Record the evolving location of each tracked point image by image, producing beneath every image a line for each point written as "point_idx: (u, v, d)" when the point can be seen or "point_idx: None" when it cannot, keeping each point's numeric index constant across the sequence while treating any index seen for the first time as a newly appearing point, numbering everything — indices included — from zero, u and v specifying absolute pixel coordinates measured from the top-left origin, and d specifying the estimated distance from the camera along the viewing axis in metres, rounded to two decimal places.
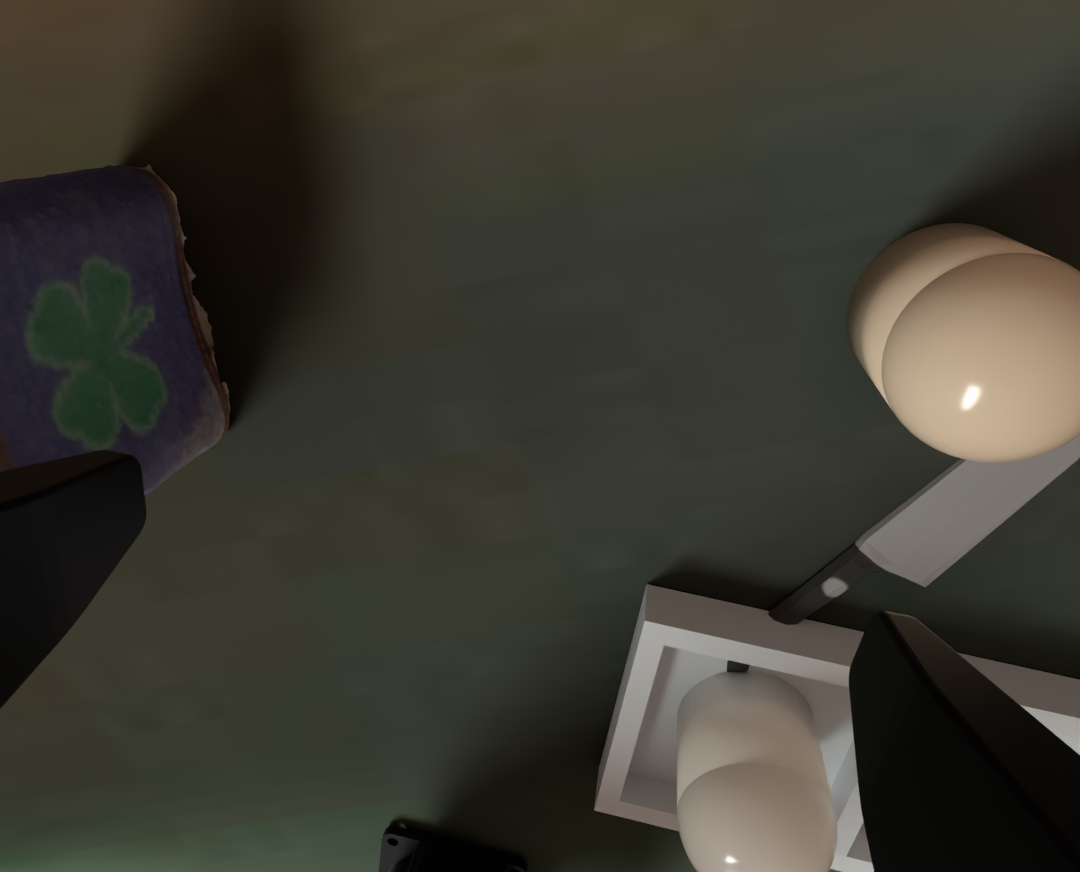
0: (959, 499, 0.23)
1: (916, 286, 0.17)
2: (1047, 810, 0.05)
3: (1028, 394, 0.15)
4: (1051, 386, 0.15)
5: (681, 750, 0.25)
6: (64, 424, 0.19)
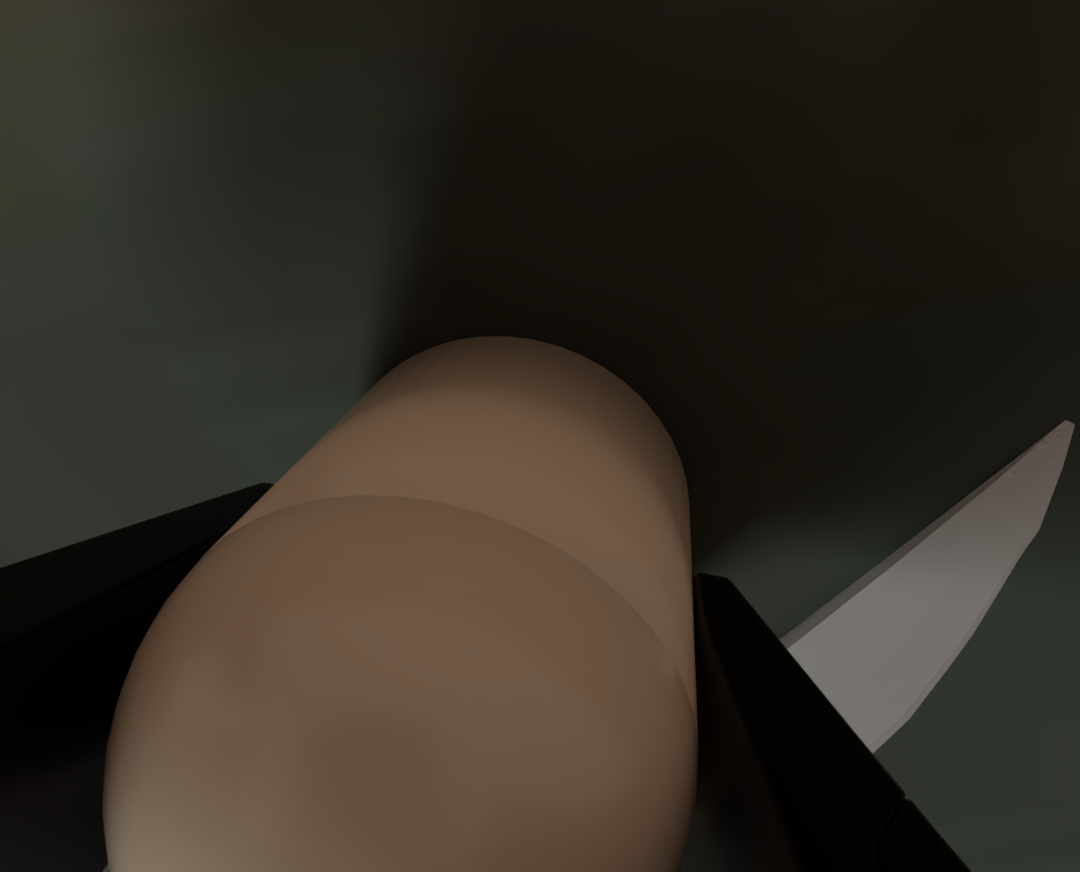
0: None
1: None
2: (764, 746, 0.06)
3: None
4: None
5: None
6: None
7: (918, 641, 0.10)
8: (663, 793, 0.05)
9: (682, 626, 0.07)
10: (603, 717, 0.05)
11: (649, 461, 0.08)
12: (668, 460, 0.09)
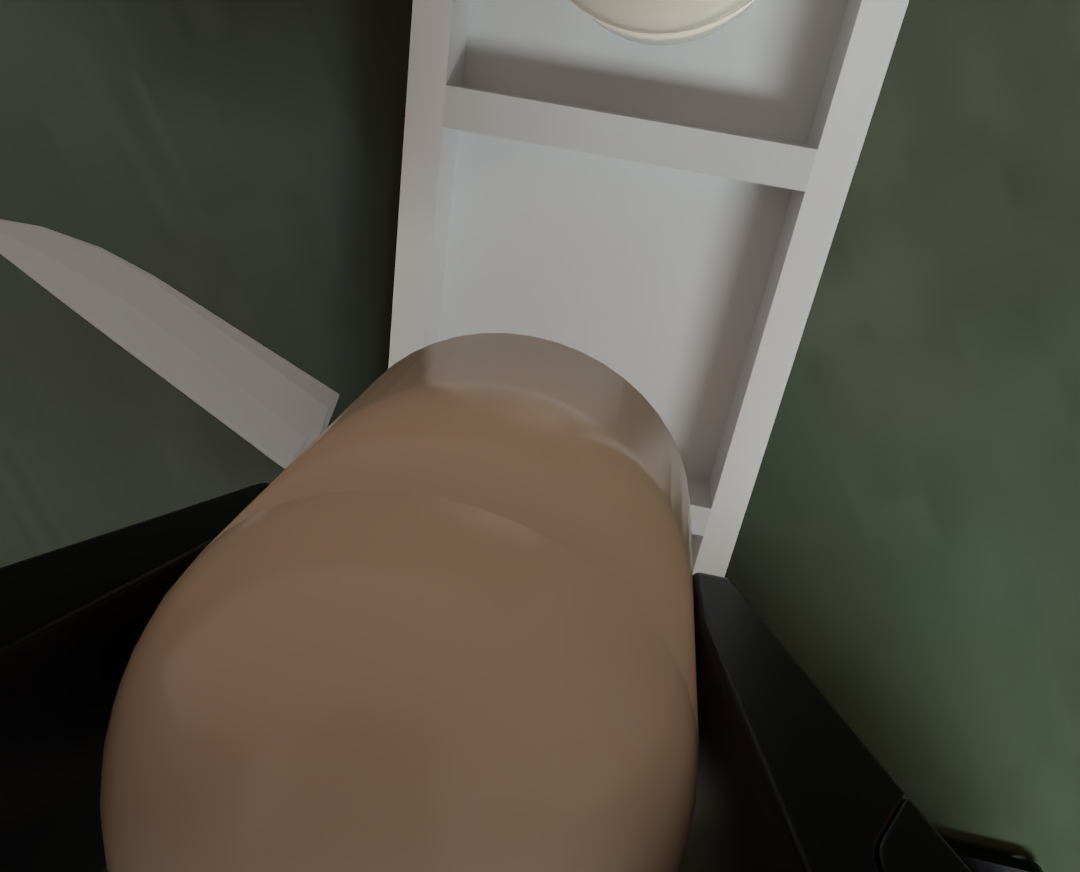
0: (217, 386, 0.21)
1: None
2: (763, 746, 0.06)
3: None
4: None
5: None
6: None
7: (51, 250, 0.20)
8: (663, 789, 0.05)
9: (682, 622, 0.06)
10: (603, 713, 0.05)
11: (648, 457, 0.08)
12: (668, 457, 0.09)
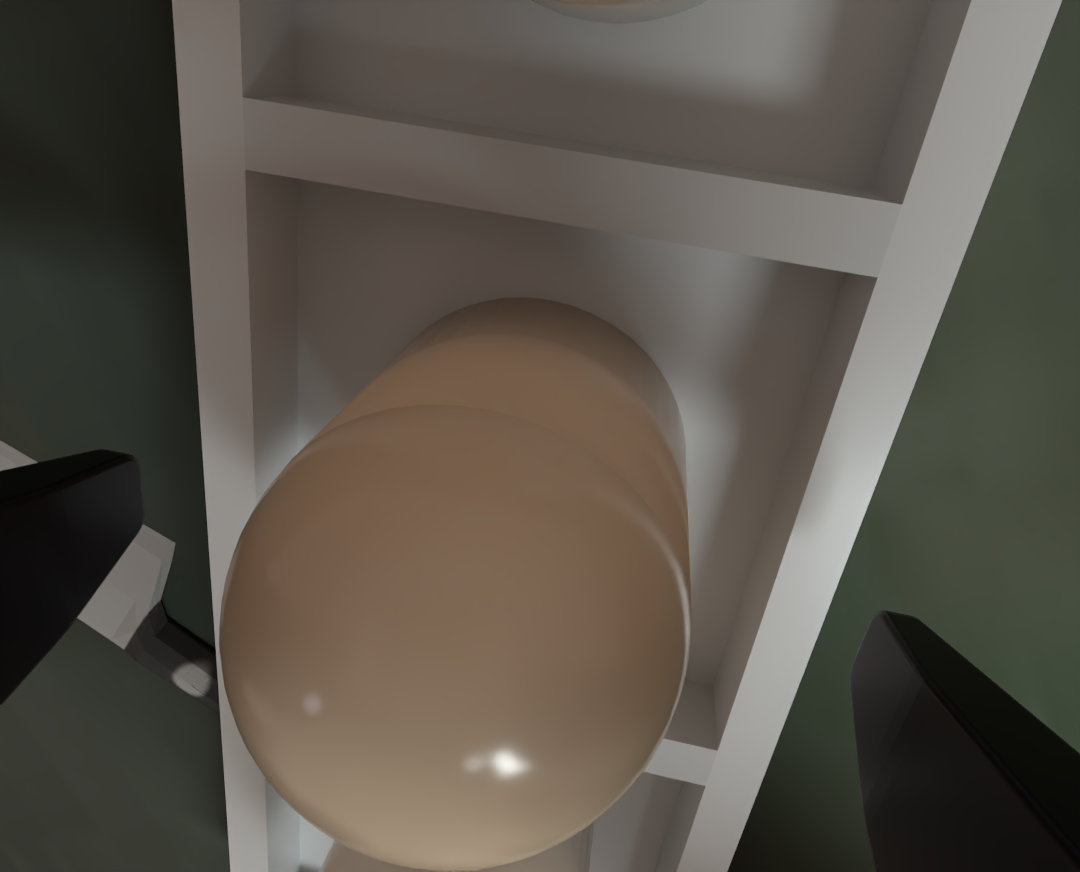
0: None
1: None
2: (1049, 811, 0.05)
3: (363, 797, 0.06)
4: (409, 783, 0.06)
5: None
6: None
7: None
8: (663, 631, 0.07)
9: (678, 521, 0.08)
10: (617, 565, 0.06)
11: (650, 397, 0.09)
12: (667, 402, 0.10)
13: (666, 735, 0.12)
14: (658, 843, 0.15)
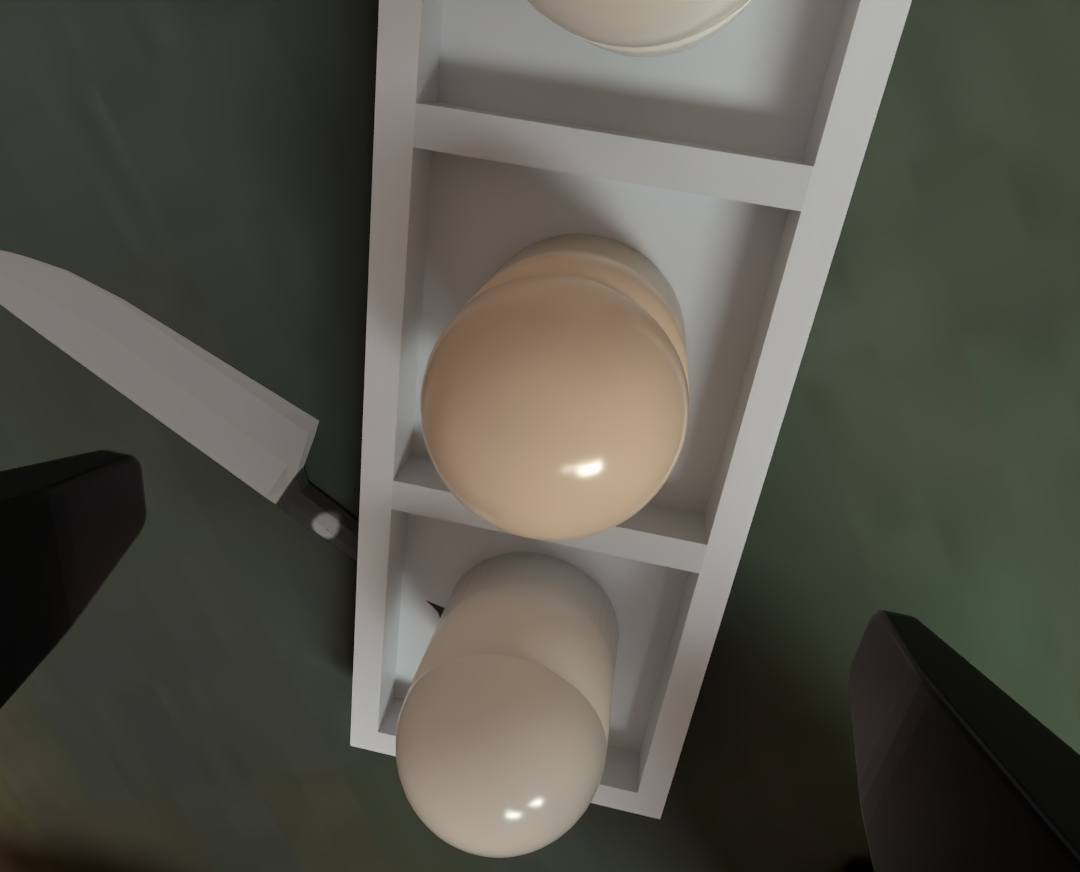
0: (193, 413, 0.20)
1: None
2: (1046, 810, 0.05)
3: (520, 464, 0.12)
4: (544, 453, 0.11)
5: None
6: None
7: (16, 273, 0.20)
8: (674, 393, 0.12)
9: (681, 352, 0.14)
10: (649, 352, 0.12)
11: (663, 291, 0.15)
12: (674, 299, 0.16)
13: (672, 536, 0.17)
14: (665, 643, 0.20)
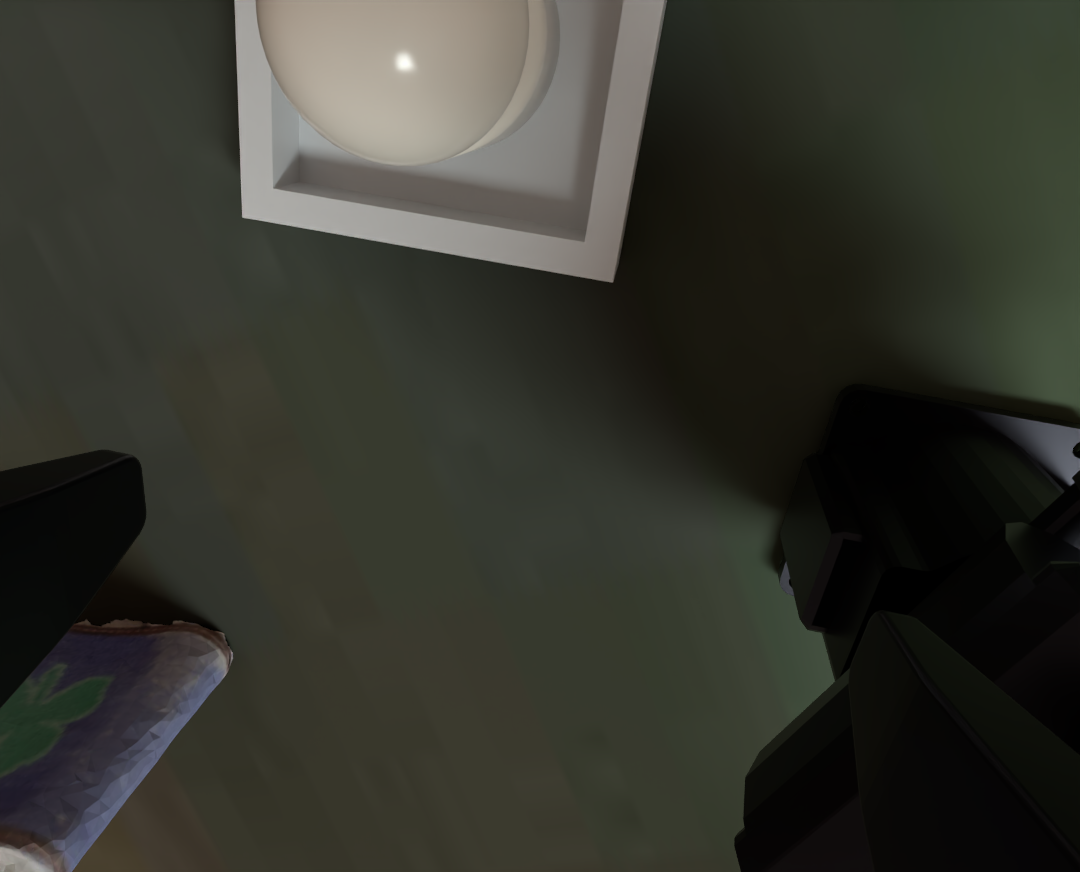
0: None
1: None
2: (1047, 810, 0.05)
3: None
4: None
5: None
6: None
7: None
8: None
9: None
10: None
11: None
12: None
13: None
14: (617, 41, 0.17)
